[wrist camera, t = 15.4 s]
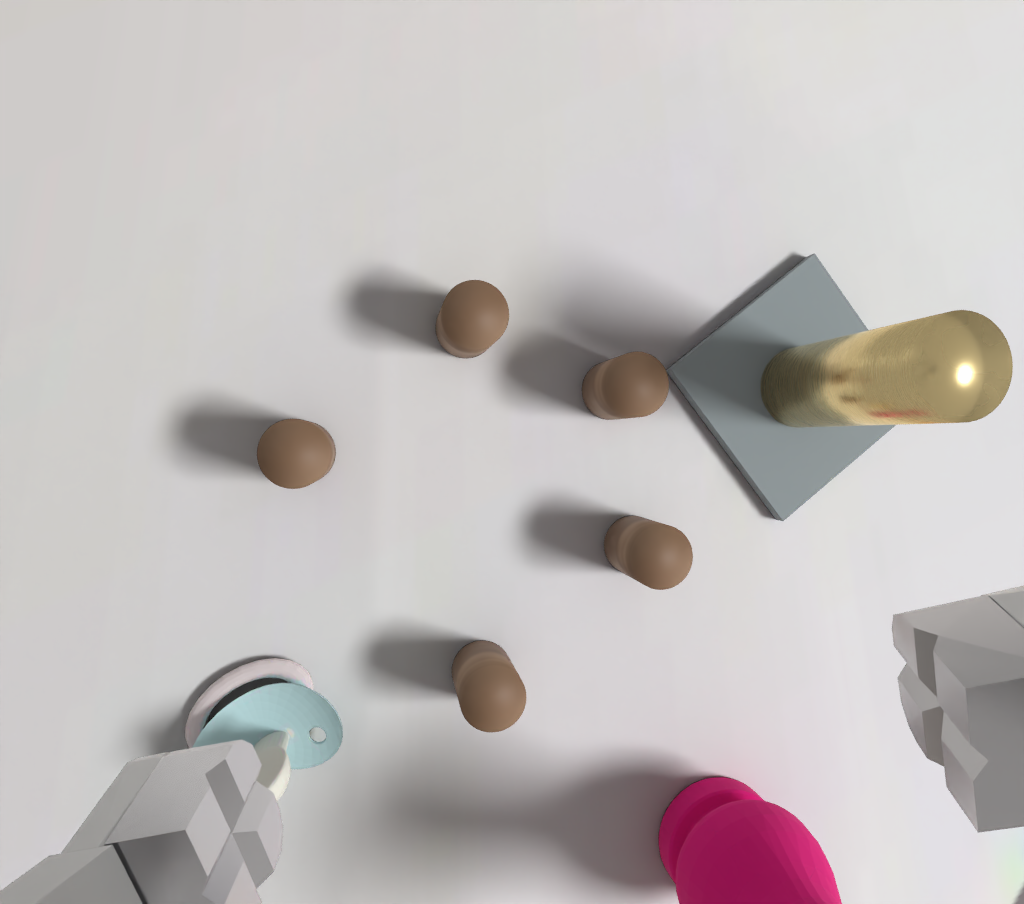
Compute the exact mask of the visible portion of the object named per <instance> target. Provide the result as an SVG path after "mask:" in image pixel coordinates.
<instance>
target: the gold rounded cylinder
mask: <svg viewBox="0 0 1024 904" xmlns="http://www.w3.org/2000/svg"><path fill="white" fill-rule="evenodd" d="M1012 367H1013V366H1012V356H1011V351H1010V348H1009V345H1008V342H1007V340H1006V338H1005V336H1004V335H1003V333H1002V332H1001V330H1000V329H999V328H998V327H997V326H996V325H995V324H994V323H993V322H992V321H991V320H990V319H988V318H987V317H985V316H983V315H981V314H979V313H976V312H972V311H966V310H957V311H951V312H947V313H943V314H938V315H934V316H929V317H925V318H921V319H916V320H912V321H908V322H903V323H899V324H894V325H890V326H886V327H881V328H877V329H873V330H868V331H864V332H859V333H855V334H851V335H846V336H842V337H838V338H833V339H829V340H824V341H820V342H816V343H811V344H807V345H803V346H798V347H794V348H789V349H786V350H783V351H782V352H780V353H778V354H777V355H775V356H774V357H773V358H772V359H771V360H770V361H769V363H768V364H767V366H766V367H765V370H764V372H763V375H762V379H761V396H762V400H763V403H764V405H765V407H766V409H767V411H768V412H769V413H770V415H771V416H772V417H773V418H774V419H775V420H777V421H778V422H780V423H782V424H784V425H786V426H789V427H796V428H802V427H834V426H865V425H897V424H929V423H960V422H971V421H975V420H978V419H981V418H983V417H985V416H987V415H988V414H990V413H991V412H992V411H993V410H994V409H995V408H996V407H997V406H998V405H999V404H1000V403H1001V401H1002V400H1003V398H1004V397H1005V395H1006V393H1007V391H1008V388H1009V386H1010V382H1011V377H1012Z"/></svg>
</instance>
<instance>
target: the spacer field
mask: <svg viewBox="0 0 1024 904" xmlns="http://www.w3.org/2000/svg"><path fill="white" fill-rule="evenodd" d="M508 321H509V309H508V305H507V302H506V300H505V298H504V296H503V295H502V293H501V292H500V291H499V290H498V289H497V288H496V287H494V286H493V285H491V284H489V283H487V282H484V281H480V280H469V281H465V282H462V283H460V284H458V285H456V286H455V287H454V288H453V289H451V291H450V292H449V293H448V294H447V296H446V298H445V300H444V302H443V305H442V307H441V309H440V312H439V314H438V317H437V320H436V327H435V328H436V335H437V338H438V341H439V343H440V344H441V346H442V347H443V348H444V349H445V350H446V351H447V352H448V353H450V354H451V355H453V356H456V357H459V358H473V357H476V356H479V355H481V354H482V353H484V352H485V351H486V350H487V349H488V348H489V347H490V346H491V345H493V344H494V343H495V342H496V341H497V340H498V339H499V338H500V337H501V336H502V335H503V333H504V332H505V330H506V328H507V325H508ZM668 390H669V380H668V375H667V372H666V370H665V368H664V366H663V365H662V364H661V362H660V361H659V360H658V359H657V358H655V357H654V356H652V355H650V354H647V353H644V352H630V353H627V354H624V355H621V356H619V357H616V358H613V359H610V360H607V361H605V362H602V363H599V364H597V365H595V366H594V367H593V368H591V369H590V370H589V372H588V373H587V374H586V376H585V378H584V381H583V384H582V396H583V400H584V403H585V405H586V406H587V408H588V409H589V410H590V411H591V412H592V413H593V414H594V415H596V416H598V417H600V418H603V419H608V420H613V419H624V418H634V417H643V416H647V415H650V414H652V413H654V412H655V411H657V410H658V409H659V408H660V407H661V406H662V404H663V403H664V401H665V399H666V397H667V394H668ZM335 456H336V449H335V444H334V441H333V439H332V437H331V435H330V434H329V433H328V432H327V431H326V430H325V429H324V428H323V427H321V426H320V425H318V424H316V423H312V422H309V421H304V420H300V419H286V420H282V421H279V422H277V423H275V424H273V425H272V426H270V427H269V428H268V429H267V430H266V431H265V432H264V434H263V435H262V437H261V439H260V441H259V444H258V448H257V459H258V464H259V466H260V469H261V471H262V472H263V474H264V475H265V476H266V477H267V478H268V479H269V480H270V481H271V482H273V483H274V484H276V485H278V486H281V487H284V488H289V489H296V488H302V487H306V486H308V485H310V484H312V483H314V482H316V481H317V480H319V479H321V478H322V477H324V476H325V475H326V474H327V473H328V472H329V471H330V469H331V468H332V466H333V464H334V461H335ZM604 551H605V555H606V557H607V559H608V561H609V562H610V564H611V565H612V566H613V567H614V568H616V569H617V570H619V571H621V572H622V573H624V574H626V575H628V576H630V577H631V578H633V579H635V580H637V581H638V582H640V583H642V584H644V585H646V586H648V587H650V588H653V589H658V590H663V589H669V588H672V587H674V586H676V585H678V584H679V583H680V582H682V581H683V580H684V578H685V577H686V576H687V574H688V573H689V571H690V568H691V565H692V559H693V554H692V548H691V545H690V542H689V540H688V539H687V537H686V536H685V535H684V534H683V533H682V532H681V531H680V530H678V529H676V528H674V527H672V526H669V525H665V524H662V523H659V522H655V521H652V520H649V519H645V518H642V517H639V516H626V517H623V518H621V519H619V520H617V521H616V522H614V523H613V524H612V525H611V527H610V528H609V529H608V531H607V533H606V536H605V540H604ZM452 678H453V682H454V686H455V689H456V693H457V697H458V700H459V704H460V707H461V711H462V713H463V715H464V717H465V719H466V720H467V721H468V723H469V724H470V725H472V726H473V727H475V728H476V729H478V730H481V731H484V732H499V731H502V730H505V729H507V728H509V727H510V726H512V725H513V724H514V723H515V722H516V721H517V720H518V719H519V718H520V716H521V715H522V713H523V711H524V708H525V704H526V691H525V687H524V684H523V682H522V680H521V679H520V677H519V675H518V673H517V671H516V670H515V668H514V666H513V664H512V663H511V661H510V659H509V657H508V655H507V654H506V652H505V651H504V650H503V649H502V648H501V647H500V646H499V645H497V644H495V643H493V642H490V641H475V642H472V643H469V644H468V645H466V646H465V647H463V648H462V649H461V650H460V651H459V652H458V654H457V655H456V657H455V659H454V661H453V664H452Z"/></svg>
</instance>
